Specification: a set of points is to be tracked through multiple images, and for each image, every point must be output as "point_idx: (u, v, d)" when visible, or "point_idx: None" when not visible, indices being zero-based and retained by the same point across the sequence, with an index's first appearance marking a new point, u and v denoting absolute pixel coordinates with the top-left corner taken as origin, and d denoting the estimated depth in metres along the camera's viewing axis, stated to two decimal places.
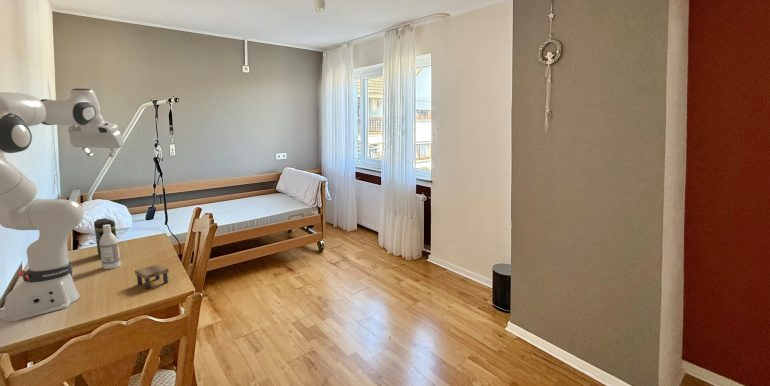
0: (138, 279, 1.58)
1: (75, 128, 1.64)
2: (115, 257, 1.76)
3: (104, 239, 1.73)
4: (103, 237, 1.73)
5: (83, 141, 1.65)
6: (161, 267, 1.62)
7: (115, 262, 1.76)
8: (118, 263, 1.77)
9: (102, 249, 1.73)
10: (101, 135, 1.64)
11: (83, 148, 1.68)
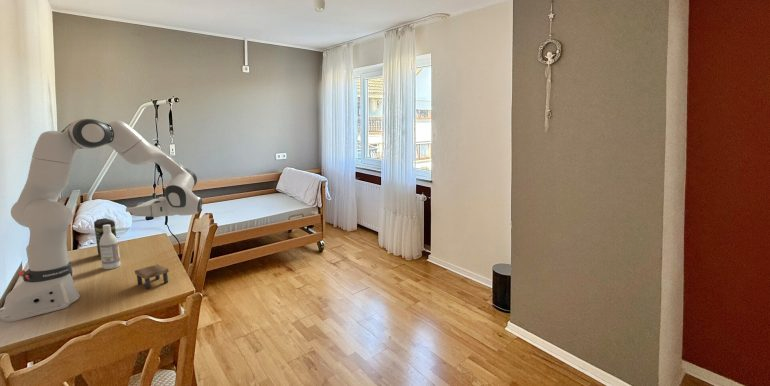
0: (138, 279, 1.58)
1: None
2: (115, 257, 1.76)
3: (104, 239, 1.73)
4: (103, 237, 1.73)
5: (153, 200, 1.79)
6: (161, 267, 1.62)
7: (115, 262, 1.76)
8: (118, 263, 1.77)
9: (102, 249, 1.73)
10: None
11: None
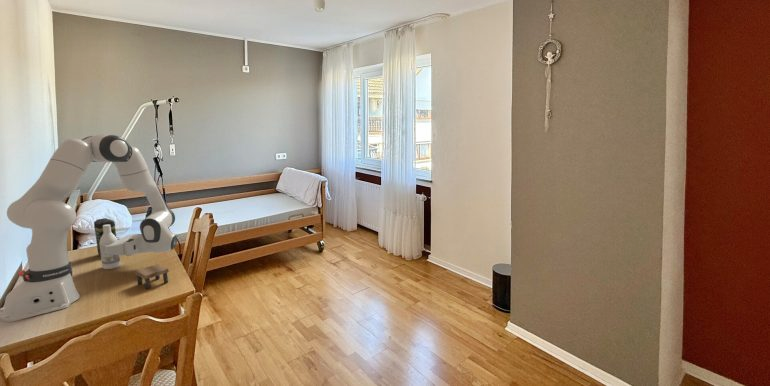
0: (138, 279, 1.58)
1: None
2: (115, 257, 1.76)
3: (104, 239, 1.73)
4: (103, 237, 1.73)
5: (128, 237, 1.81)
6: (161, 267, 1.62)
7: (115, 262, 1.76)
8: (118, 263, 1.77)
9: (102, 249, 1.73)
10: None
11: (122, 238, 1.81)
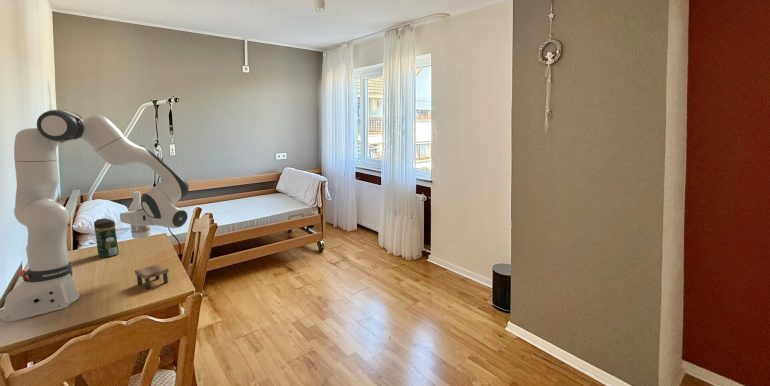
0: (138, 279, 1.58)
1: None
2: (140, 226, 1.65)
3: (131, 206, 1.64)
4: (131, 204, 1.65)
5: None
6: (161, 267, 1.62)
7: (140, 232, 1.66)
8: (144, 234, 1.67)
9: None
10: None
11: None
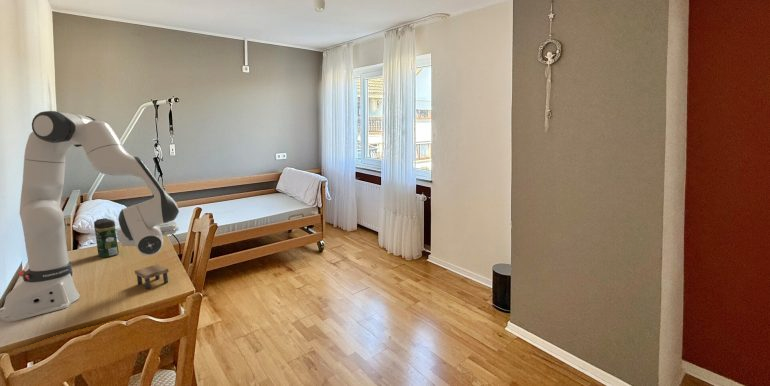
0: (138, 279, 1.58)
1: (169, 229, 1.50)
2: None
3: None
4: None
5: (160, 224, 1.53)
6: (161, 267, 1.62)
7: None
8: None
9: None
10: None
11: None
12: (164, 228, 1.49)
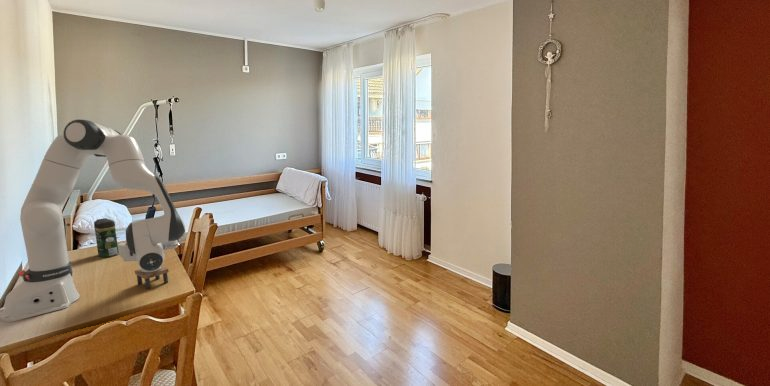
0: (138, 279, 1.58)
1: (170, 244, 1.51)
2: None
3: None
4: None
5: None
6: (161, 267, 1.62)
7: None
8: None
9: None
10: None
11: None
12: (165, 243, 1.50)
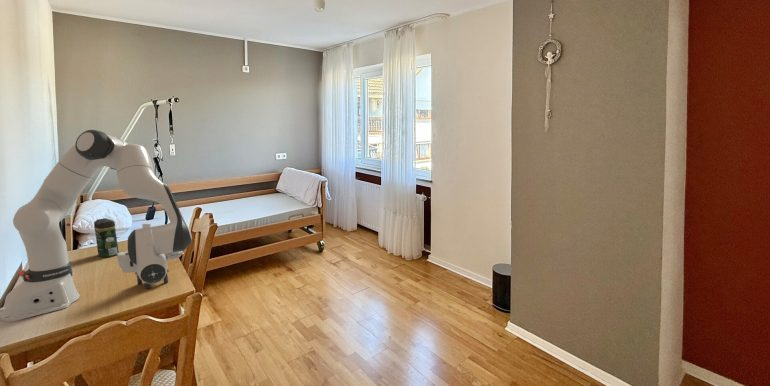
0: (138, 279, 1.58)
1: (173, 254, 1.40)
2: None
3: None
4: None
5: None
6: None
7: None
8: None
9: None
10: None
11: None
12: (168, 252, 1.40)
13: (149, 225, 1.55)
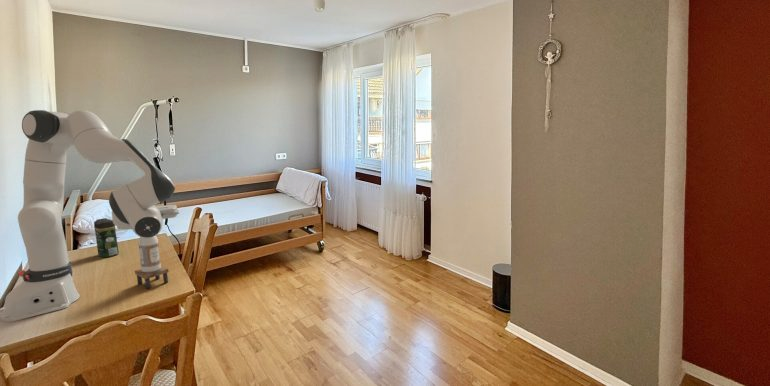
0: (138, 279, 1.58)
1: (169, 212, 1.37)
2: (145, 261, 1.55)
3: None
4: None
5: (160, 207, 1.40)
6: (161, 267, 1.62)
7: (145, 266, 1.55)
8: (149, 268, 1.55)
9: None
10: None
11: None
12: (164, 211, 1.37)
13: None
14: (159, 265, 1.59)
